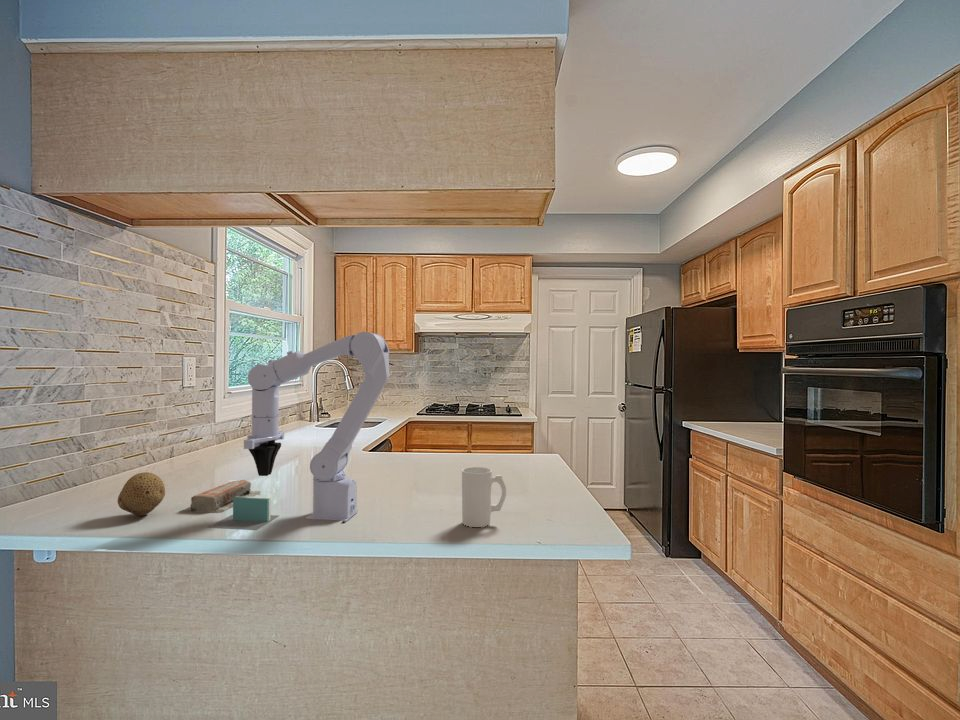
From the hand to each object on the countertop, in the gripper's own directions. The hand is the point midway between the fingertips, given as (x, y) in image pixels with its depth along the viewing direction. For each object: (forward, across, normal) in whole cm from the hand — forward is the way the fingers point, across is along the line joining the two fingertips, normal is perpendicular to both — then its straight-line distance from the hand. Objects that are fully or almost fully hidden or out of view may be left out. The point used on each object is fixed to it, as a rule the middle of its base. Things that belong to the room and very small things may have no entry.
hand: (264, 474), depth 122 cm
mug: (+10, -2, +51) cm, 52 cm away
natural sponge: (+10, +4, -27) cm, 29 cm away
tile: (+9, +6, 0) cm, 10 cm away
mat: (+9, +6, -1) cm, 11 cm away
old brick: (+10, -8, -15) cm, 20 cm away
